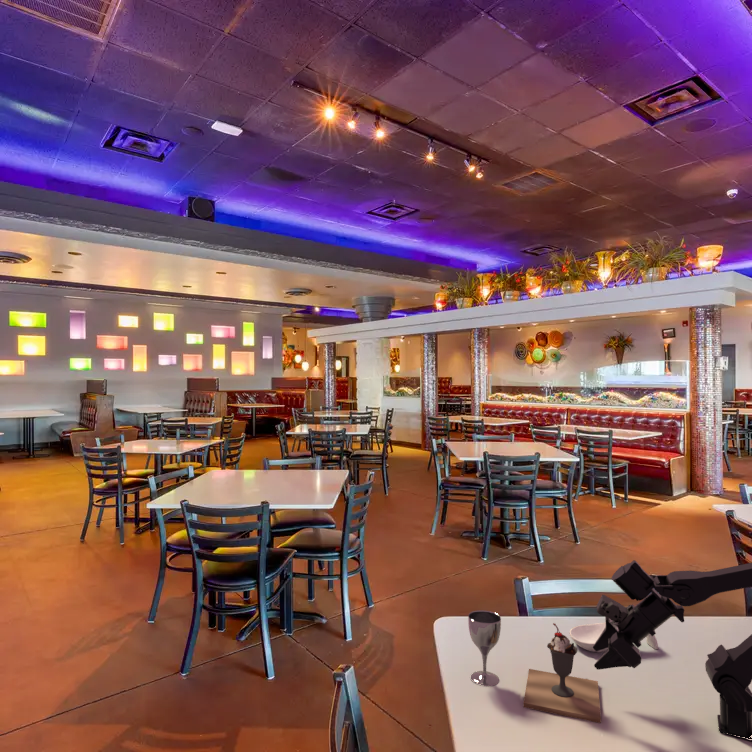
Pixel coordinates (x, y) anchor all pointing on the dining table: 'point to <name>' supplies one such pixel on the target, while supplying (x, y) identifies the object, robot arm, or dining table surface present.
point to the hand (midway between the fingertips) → (594, 658)
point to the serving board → (575, 706)
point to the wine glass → (484, 641)
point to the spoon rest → (597, 636)
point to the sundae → (562, 662)
